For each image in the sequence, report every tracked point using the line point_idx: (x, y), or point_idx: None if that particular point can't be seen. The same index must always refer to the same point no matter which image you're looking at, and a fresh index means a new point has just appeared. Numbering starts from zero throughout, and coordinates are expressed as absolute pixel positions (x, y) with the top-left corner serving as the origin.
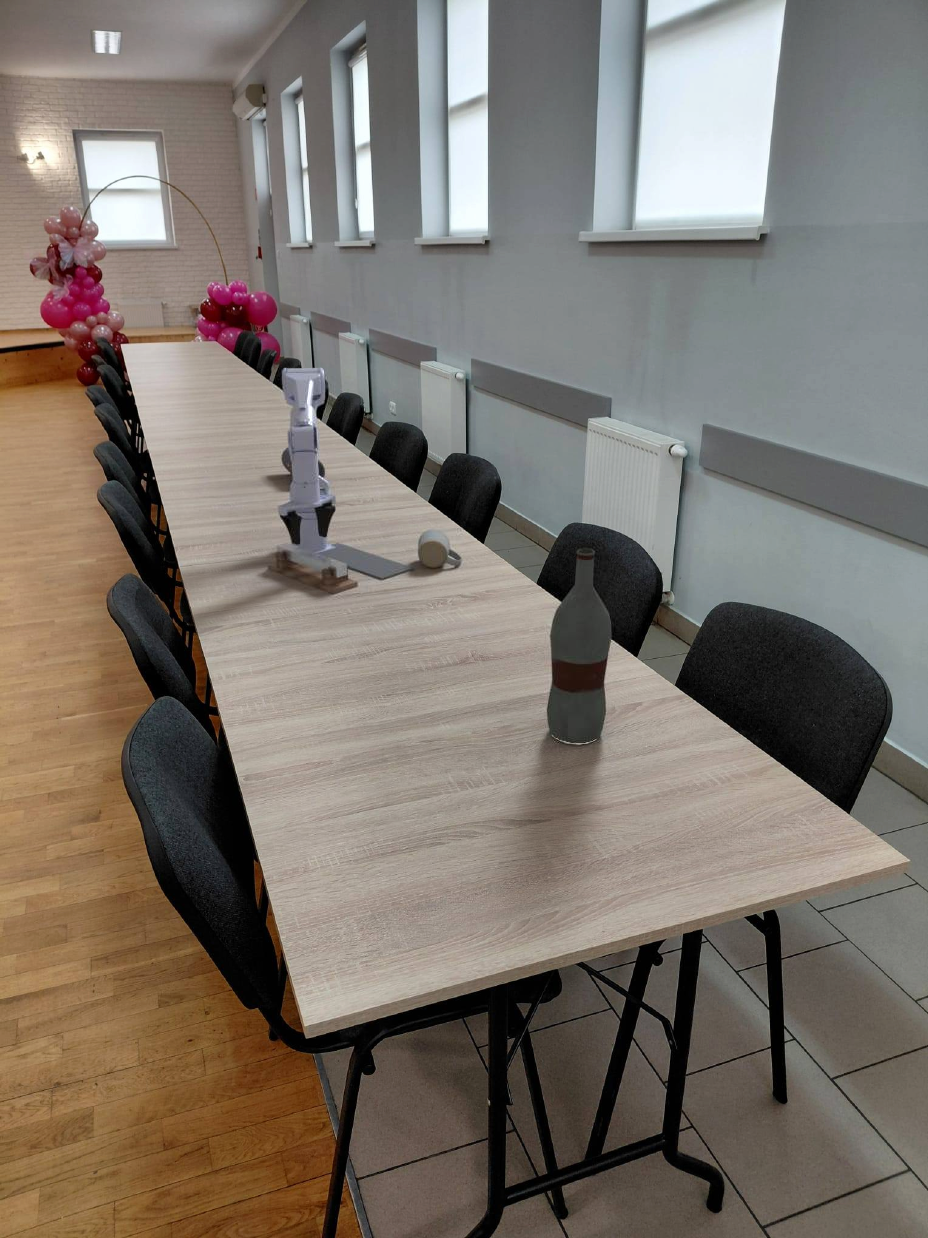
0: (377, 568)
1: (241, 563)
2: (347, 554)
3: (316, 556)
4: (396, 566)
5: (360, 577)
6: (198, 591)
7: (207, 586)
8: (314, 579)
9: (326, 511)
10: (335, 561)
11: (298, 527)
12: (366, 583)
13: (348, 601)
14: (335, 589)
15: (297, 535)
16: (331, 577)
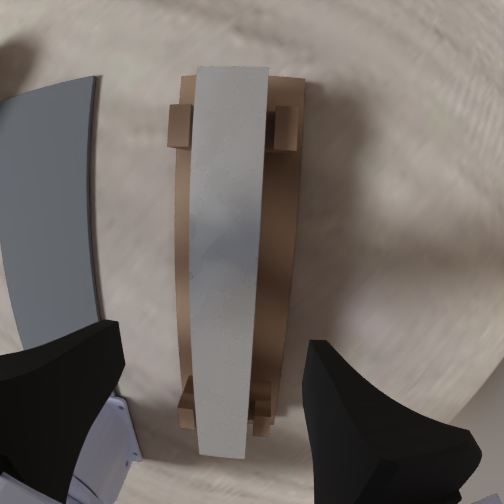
0: (46, 163)
1: (287, 468)
2: (47, 327)
3: (221, 272)
4: (12, 140)
5: (120, 143)
6: (474, 389)
7: (446, 404)
8: (274, 219)
9: (2, 404)
10: (209, 134)
11: (361, 402)
12: (148, 81)
13: (313, 7)
14: (293, 78)
15: (349, 368)
16: (273, 112)
